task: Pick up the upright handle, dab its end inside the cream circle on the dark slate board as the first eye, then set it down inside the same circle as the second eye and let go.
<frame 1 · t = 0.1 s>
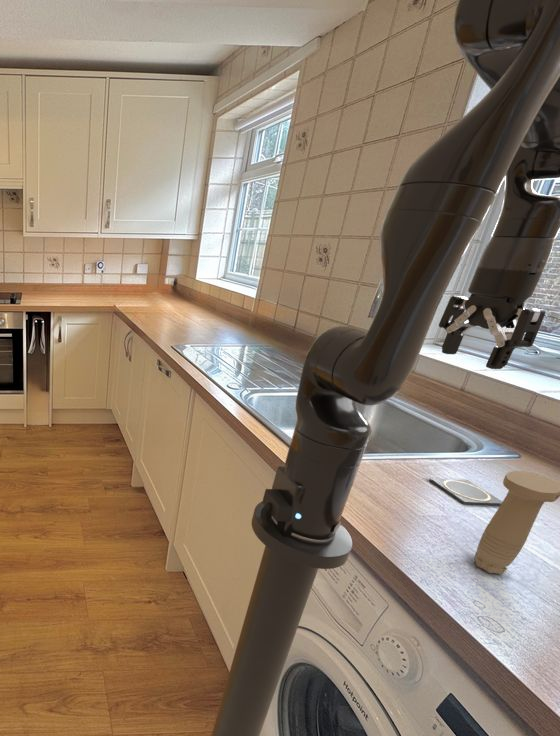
hand: (469, 360, 73), 25 cm above the worktop, tool pointing down, fingers open, 8 cm apart
slate board: (465, 492, 78), on the worktop
handle: (486, 568, 60), on the worktop
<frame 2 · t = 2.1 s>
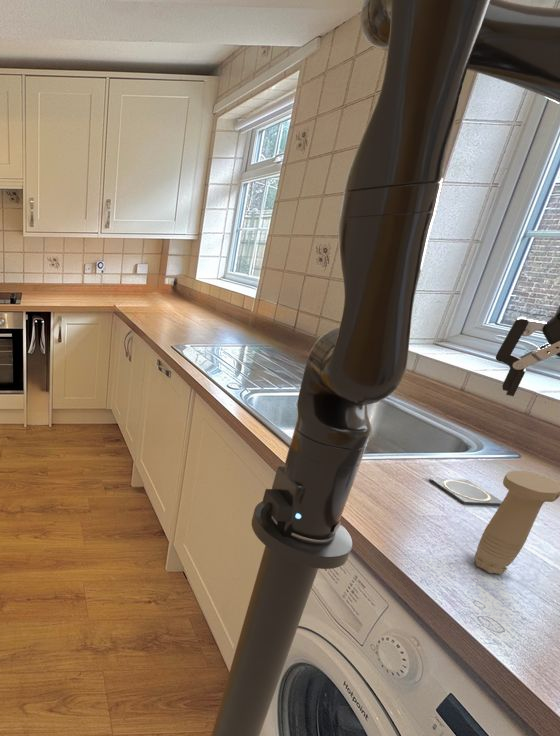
hand: (556, 404, 54), 25 cm above the worktop, tool pointing down, fingers open, 8 cm apart
nothing on the worktop moved.
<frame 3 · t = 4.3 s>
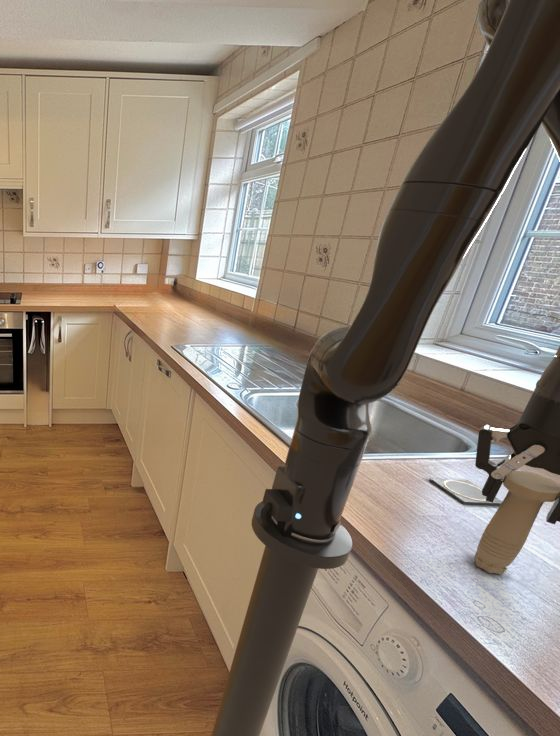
hand: (519, 509, 57), 10 cm above the worktop, tool pointing down, fingers closed on handle, 5 cm apart
handle: (486, 568, 60), on the worktop, touching gripper
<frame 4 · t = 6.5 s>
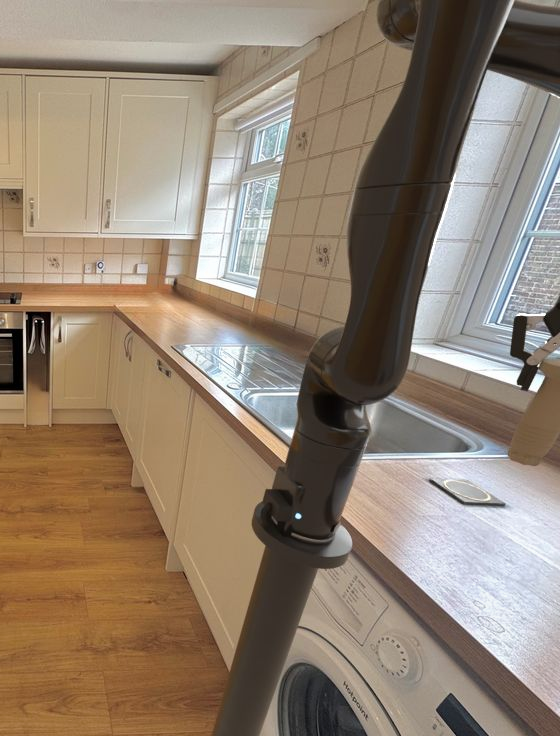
hand: (555, 395, 56), 26 cm above the worktop, tool pointing down, fingers closed on handle, 5 cm apart
handle: (521, 462, 60), point 15 cm above the worktop, touching gripper
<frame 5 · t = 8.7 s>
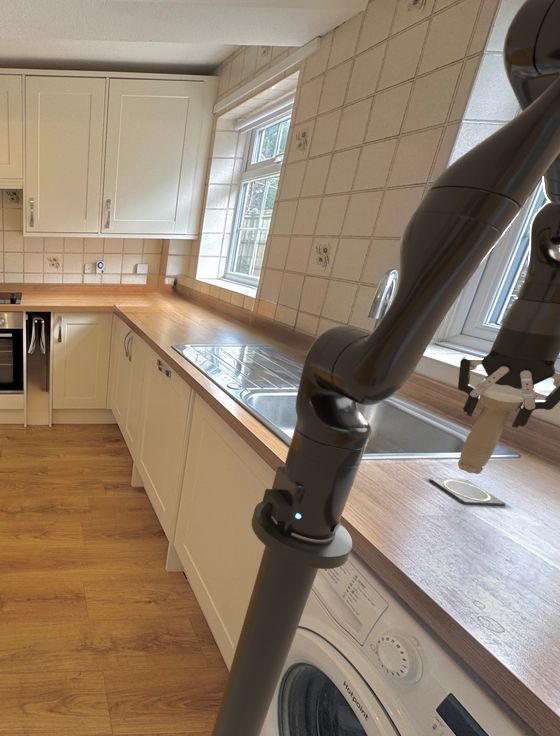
hand: (491, 420, 73), 15 cm above the worktop, tool pointing down, fingers closed on handle, 5 cm apart
handle: (467, 470, 77), point 4 cm above the worktop, touching gripper
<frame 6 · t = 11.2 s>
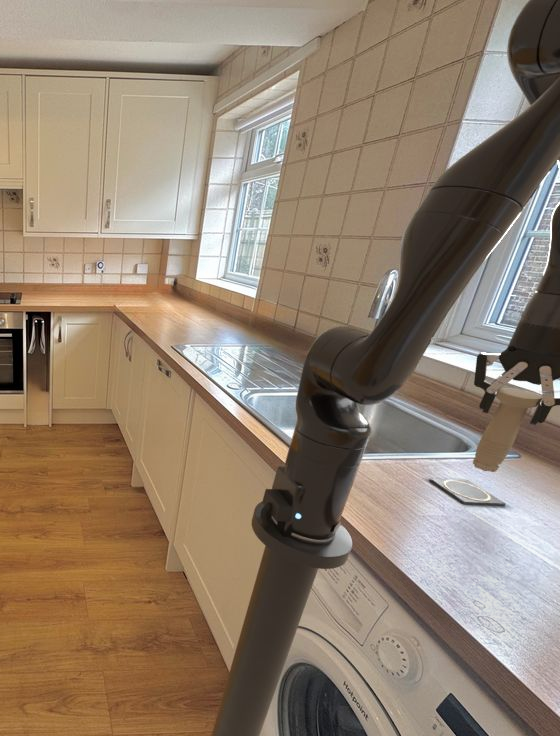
hand: (508, 417, 72), 16 cm above the worktop, tool pointing down, fingers closed on handle, 5 cm apart
handle: (483, 469, 76), point 6 cm above the worktop, touching gripper
when the fingers open (11 cm above the worktop, at t = 13.1 s): handle stays where it is, resting on slate board.
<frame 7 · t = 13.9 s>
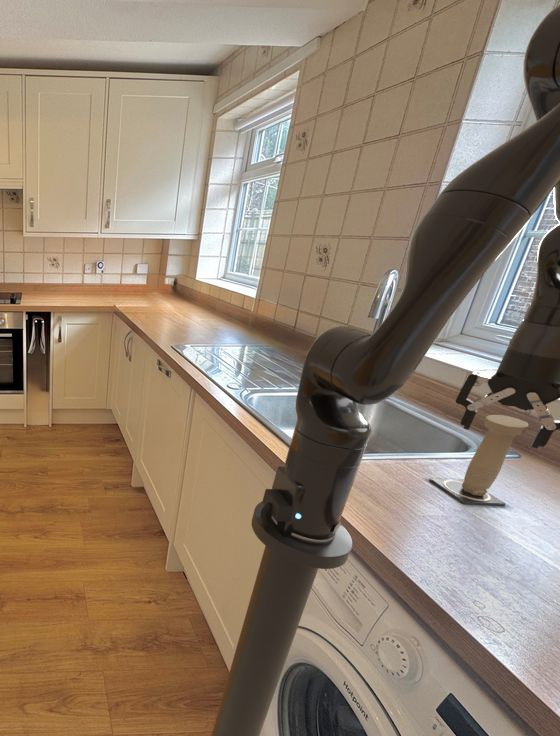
hand: (498, 437, 73), 12 cm above the worktop, tool pointing down, fingers open, 8 cm apart
handle: (472, 492, 77), resting on slate board
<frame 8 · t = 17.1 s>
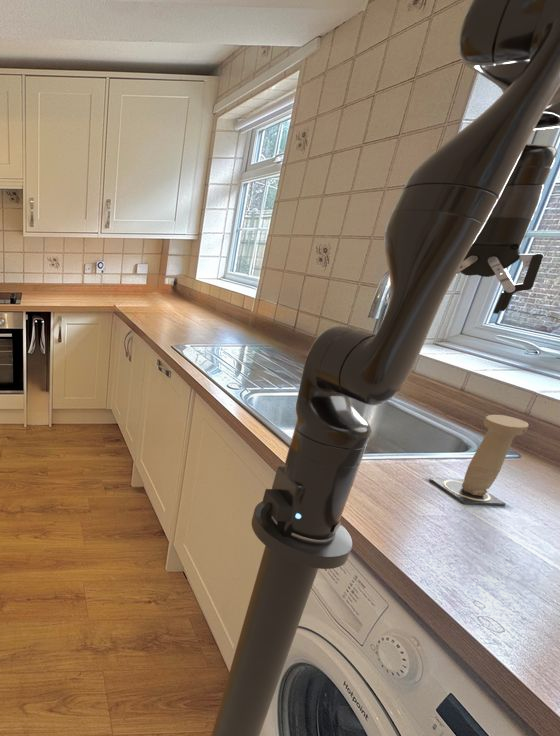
hand: (463, 309, 76), 33 cm above the worktop, tool pointing down, fingers open, 8 cm apart
nothing on the worktop moved.
at the end: handle 0.9 cm off-centre on the slate board, point 0.4 cm above the slate board's base; handle tilted 0°; the gripper is holding nothing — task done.
